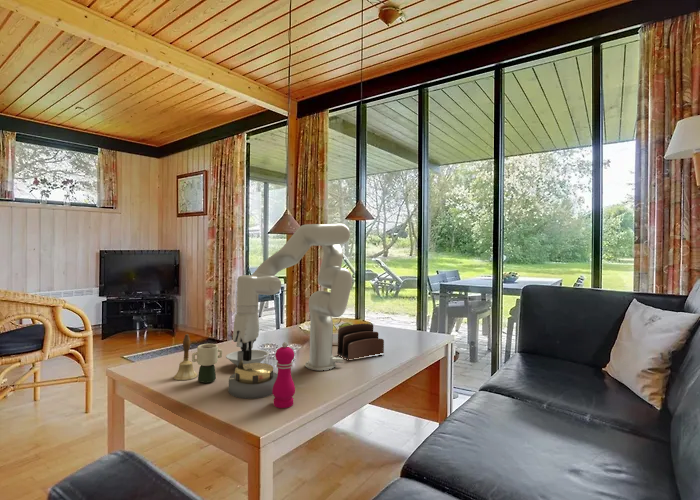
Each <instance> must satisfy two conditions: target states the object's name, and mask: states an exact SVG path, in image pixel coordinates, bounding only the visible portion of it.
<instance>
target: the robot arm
mask: <svg viewBox="0 0 700 500" xmlns="http://www.w3.org/2000/svg"><path fill="white" fill-rule="evenodd" d="M350 237H351V231H350V228H349V227H348V226H347V225H346V224H345V223H324V224H323V223H322V224H321V223H320V224H319V223H312V224H311V223H309V224H302V225H300V226H299V228H297V229H296V230H295V232H294V233H293V234H292V235H291V237H289V239H288V240H287V242H285V244H284V245H283V246H282V247H281V248H280V249H279V250H278V251H276V252H275V253H273V254H272V255H271V256H269V257H268V258H267V259H265V260H264V261H263V262H262V263H261V264H259V266H258V267H257V269H255V270H254V272H253V273H252V274H249V275H248V274H243V275H240V276H238V277H237V281H236V314H235V316H234V317H235V318H234V322H233V332H232V341H233V342H234V343H236V347H238V348H240V351H241V350H242V351H243V360H244V361H250V360H251V357H252V350H253V347H254V343H255V342H256V341H257V338H258V337H259V333H260V326H259V325H260V324H259V323H260V321H259V296H260V295H264V296H273V295H276V294H277V293H279V292H280V290H281V289H282V281H281V279H280V278H279V277H278V276H277V273H280V272H281V271H283V270H286V269H287V268H291V267H293V266H295V265H298V263H299V262H300V261H301V259H302V258H303V257H304V256H305V255H306V253H307V252H308V251H309V250H310V248H311V247H312V246H314V247H315V246H318V247H319V246H321V248H322V251H323V252H322V253H323V254H322V259H321V263H320V269H319V272H318V276H317V277H318V278H317V282H318V283H317V284H318V285H319V286H320V287H321V288H324V289H329V290H330V291H326V290H317V291H315V292H313V293H312V294H311V295H310V296H309V298H308V299H309V300H308V310H309V311H308V312H309V321H310V323H309V327H310V328H309V357H308V358H309V359H308V360H307V361H306V362H305V365H304V366H305V367H306V369H308V370H312V371H317V372H319V371H320V372H321V371H323V370H324V371H330V370H332V368H333V369H335V368H336V363H340V364H341V363H344V359H343V358H341V357H339V356H334V355H333V338H334V337H333V333H334V321H333V318H340V317H342V316H343V314H344V313H345V312H346V309H347V306H348V303H349V297H350V294H351V291H352V284H353V277H352V274H351V271H350V270H348V268H345V267H342V265H343V260H344V252H343V249H342V246H341V245H344V244H346V243H348V241H349V240H350ZM334 367H335V368H334ZM329 369H330V370H329Z"/></svg>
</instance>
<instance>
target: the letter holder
mask: <svg viewBox="0 0 700 500" xmlns="http://www.w3.org/2000/svg"><path fill="white" fill-rule="evenodd" d="M380 353H384V354H385V341H384V338H379V332H378V331H374V325H373V324H372V323H354V324H349V325H344V326H341V327H339V328H338V330H337V354H338V355H340V356H342V357H343V358H346V359H348V360H349V359H354V358H359V357H364V356H369V355H375V354H380Z"/></svg>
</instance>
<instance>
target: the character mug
mask: <svg viewBox="0 0 700 500" xmlns="http://www.w3.org/2000/svg"><path fill="white" fill-rule="evenodd" d="M196 351H197V352H193V353H192V355H191V362H192V363H195V362H196V363H197V365H199V370H198V373H197V375H198V376H197V381H198V382H199V383H200V382H201V383H213V382H214V381H216V380H217V376H216V375H217V373H216V367H215V365H216V364H217V362H218V361H219V360H218V359H221V358H222V357H223V349H222V348H219V345H218V344H216V343H204V344H200V345H198V346H197V347H196Z"/></svg>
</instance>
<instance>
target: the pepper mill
mask: <svg viewBox="0 0 700 500" xmlns="http://www.w3.org/2000/svg"><path fill="white" fill-rule="evenodd" d="M281 345H282V346H281V347H280V346H279V348H278V349H276V351H275V356H274V357H275V360H276V361H277V362H276V368H277V374H278V375H277V379H276V381H275V383H274V386H273V390H272V393H273V394H272V395H273V397H274V398H273V406H274V407H275V408H278V409H288V408H290V407H292V406H294V398H293V397H294V396H295V393H296V387H295V382H294V380H293V377H292V368H293V359H295V350H294V349H293V348H292V347H290V346H288V345H289V344H288V342H286V341H284V342H282V344H281Z"/></svg>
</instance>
